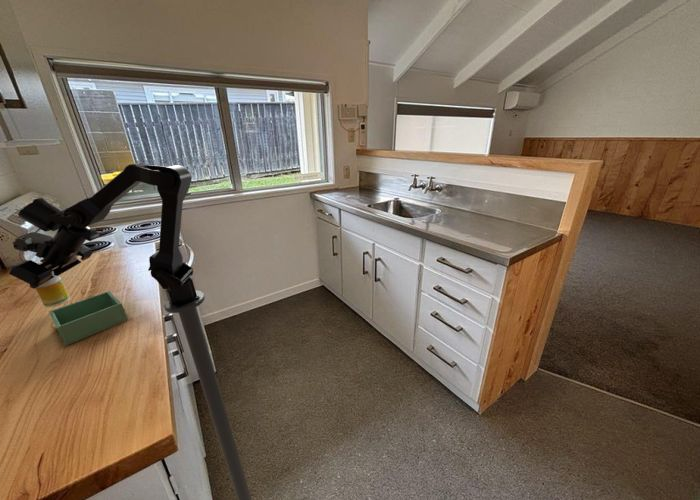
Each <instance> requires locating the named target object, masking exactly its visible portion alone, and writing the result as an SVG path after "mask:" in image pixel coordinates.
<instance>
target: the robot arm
mask: <svg viewBox="0 0 700 500" xmlns="http://www.w3.org/2000/svg"><path fill="white" fill-rule="evenodd" d="M192 179H193V177H192V174H191V172H190V171H189V170H188V169H187V168H186V166H182V165H178V164H176V165H175V164H174V165H171V166H162V165H152V164H145V163H141V162H137V163H129V164H128V165H127V164H126V166H125V167H124V168H123V170H122V171H121V172H119V173H118V174H117V175H116V176H114V177H113V178H112V179H111V180H110V181H108V182H107V183H106V184H105V185H103V186H102V187H101V188H100V189H99V190H97V191H96V192H95V193H94V194H92V195H90V196H89V197H87V198H84V199H82V200H79V201H77V202H76V203H73V204H72V205H70V206H68V207H66V208H65V209H64V210H62V209H61V208H59V207H58V206H56V205H54V204H52V203H51V202H50V201H48V200H47V199H45V198H43V197H38V198H35V199H34V198H33V201H32V202H30V203H29V204H27V205H25V206H24V207H23V208H22V209H20V210H19V212H18V215H17V216H18V218H20V219H22V220H24V221H25V222H27V223H29V224H31V225H32V226H34V227H36V228H37V229H39V230H41V231H43V232H50V231H51V232H56V233H55V234H54V236H51V235H49V234H44V233H41V232H36V231H32V232H31V231H30V232H27V233H25V234H21V235H19V236H17V237H16V238H15V239H14V241H12V244H13V246H12V247H13V248H14V249H15V250H17V251H21V252H25V253H26V252H32V253H35V254H34V255H35V256H34V257H37V258H39V259H40V261H39V262H40V263H37V262H36V261H33V260H31V259H26V260H22V261H21V262H18V263H16V264H14V265H11V267H10V269H9V270H8V274H9V275H10V276H12V277H14V278H16V279H18V280H20V281H22V282H25V283H26V284H29V288H31V289H33V290H35V288H37V287H38V286H40V285H42V284H44V283H45V282H47V281H49V280H50V279H52V278H54V276H52V272H54V275H55V276H59V277H60V275H62V274H64V273H65V272H68V271H69V270H71V269H73V268H74V267H77V266H78V265H79V264H81V263H82V262H85V261H86V260H88V259H90V258H91V257H92V255H93V251H92V249H91V248H90V247H88V246H86V245H85V244H84V243H85V242H86V241H88V242H91V241H94V240H96V239H98V238H100V233H99V232H98V231H97V229H96V228H91V227H90V226H93V225H95V224H98V223H100V222H103V221H104V220H105V219H106V217H107V216H108V215H109V213H110V212H111V209H112V207H113V206H114V205H115V204H116V203H117V202H118V201H119V200H121V199H122V198H124V196H126V195H127V194H129V192H131V191H132V190H133V189H134V188H135V187H137V186H138V185H139V184H141V183H143V184H147V185H150V186H154V187H156V189H157V193H158V194H159V197H160V199H161V214H160V215H161V216H160V228H159V229H160V230H159V245H158V246H159V247H158V250H157V251H156V252H155V253H153V254H152V255H150V256H149V259H148V262H149V267H148V269H147V271H148V272H150V275H151V278H153V279H154V280H155V281H156V282H157V283H158V284H159V285H160V286H161V288H162V289H163V290H164V292H165V295H166V298H167V300H168V301H169V303H171V304H172V305H174V306H176V307H177V308H178V307H181V306H183V305H185V304H188V303H190V302H192V301H194V300H197V299H199V298H200V297H199V296H198V295H197V294H196V291H197V290H196V287H195V283H194V281H193V278H192V277H191V276H193V275H194V268H193V267H192V266H190V265H188V264H186V263H185V262H184V260H183V255H182V253H181V251H180V238H181V226H182V217H183V206H184V205H183V204H184V200H185V199H186V196H187V194H188V192H189V190H190V187H191V183H192ZM78 256H80V259H78ZM195 290H196V291H195Z"/></svg>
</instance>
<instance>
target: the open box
mask: <svg viewBox="0 0 700 500" xmlns="http://www.w3.org/2000/svg"><path fill="white" fill-rule="evenodd" d="M48 313H49V315H50V318H51V320H52V321H53V323H54V326H55V328H56V330H57V332H58V333H59V335H60V338H61V340H62V341H63V343H64V345H65V346H69V345H71V344H74V343H76V342H78V341H82V339H85V338H88V337H90V336H93V335H94V334H98V333H100V332H102V331H104V330H106V329H109V328H112V327H114V326H116V325H119V324H121V323H123V322H126V321H128V320H129V318H128V315H127V313H126V311H125V308H124V306H123V303H122V302H121V301H120V300H119V299H118V298H117V297H116V296H115V295H114V294H113V293H112V292H111V291H110V290H108V291H104V292H102V293H99V294H96V295H93V296H90V297H87V298H84V299H81V300H79V301H75V302H72V303H70V304H67V305H64V306H60V307H58V308H54V309H52V310H49V311H48Z"/></svg>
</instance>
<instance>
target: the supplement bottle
mask: <svg viewBox="0 0 700 500" xmlns="http://www.w3.org/2000/svg"><path fill="white" fill-rule="evenodd" d="M52 276H54V278H52V279H50V280H49V281H47V282H45V283H44V284H42V285H40V286H38V287H37V288H35V289H34V290H35V292H36V294H37V295H38V297H39V299H40V301H41V303H42V305H43V306H44V307H45V308H53V307H58V306H61V305H63V304H65V303H67V302H68V301H70V299H71V297H70V295H69V292H68V291H67V289H66V286H65V284H64V283H63V281H62V278H61V276H60V275H59V276H55V275H54V272H52Z"/></svg>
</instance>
